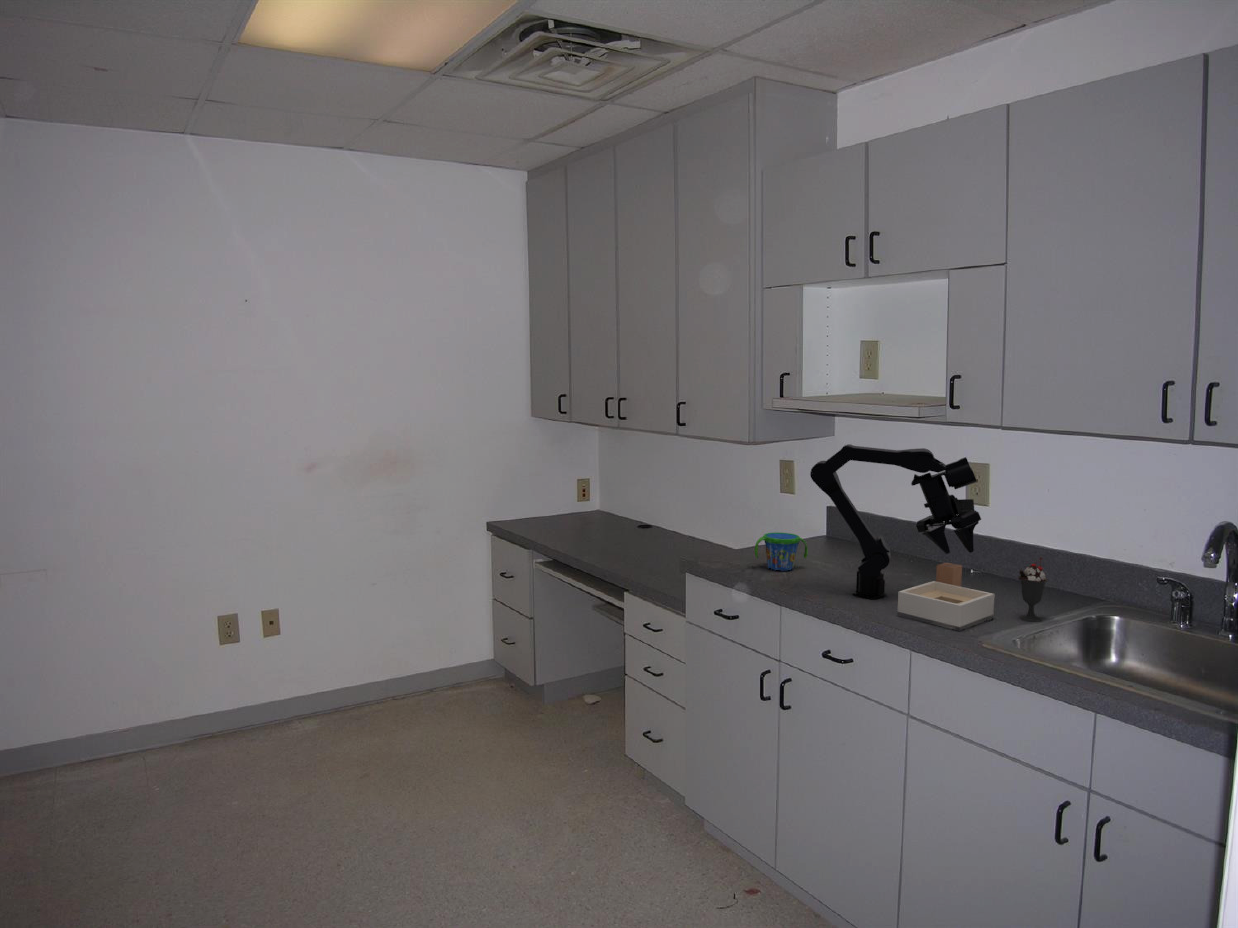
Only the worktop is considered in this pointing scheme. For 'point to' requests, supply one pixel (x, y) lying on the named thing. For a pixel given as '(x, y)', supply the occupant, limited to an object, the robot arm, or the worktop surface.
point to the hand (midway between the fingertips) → (959, 552)
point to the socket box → (946, 605)
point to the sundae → (1032, 589)
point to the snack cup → (781, 550)
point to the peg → (949, 574)
